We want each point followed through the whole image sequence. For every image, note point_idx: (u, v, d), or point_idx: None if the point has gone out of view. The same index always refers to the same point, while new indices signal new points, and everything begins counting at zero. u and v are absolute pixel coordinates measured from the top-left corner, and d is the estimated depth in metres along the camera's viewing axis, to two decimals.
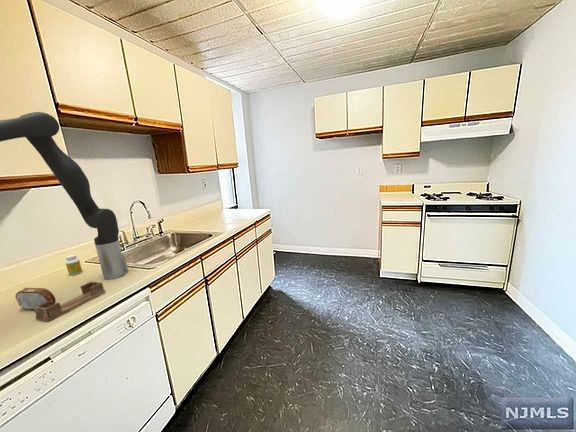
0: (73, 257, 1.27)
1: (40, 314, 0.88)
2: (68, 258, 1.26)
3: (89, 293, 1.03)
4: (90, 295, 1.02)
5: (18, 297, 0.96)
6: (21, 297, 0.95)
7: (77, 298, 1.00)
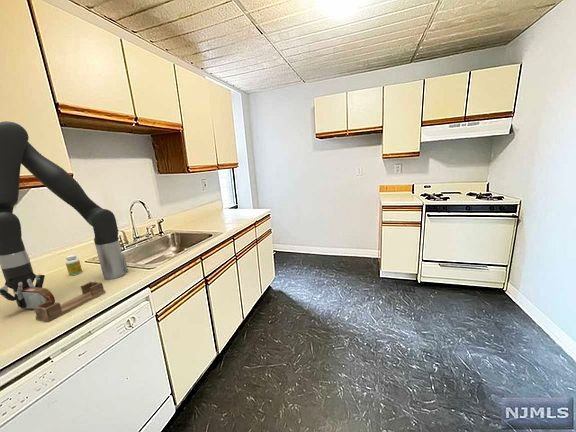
0: (73, 257, 1.27)
1: (40, 314, 0.88)
2: (68, 258, 1.26)
3: (89, 293, 1.03)
4: (90, 295, 1.02)
5: None
6: (22, 296, 0.96)
7: (77, 298, 1.00)
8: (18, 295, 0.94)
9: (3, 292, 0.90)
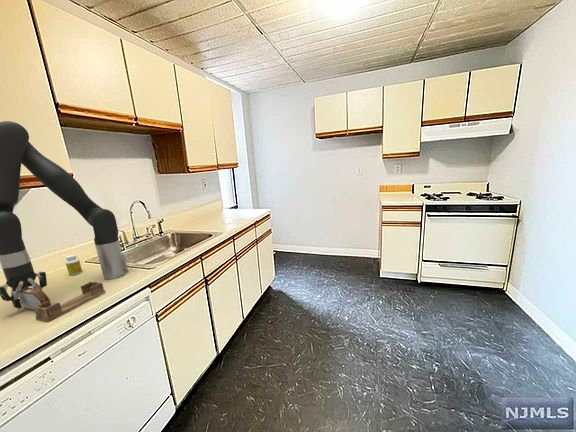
0: (73, 257, 1.27)
1: (40, 314, 0.88)
2: (68, 258, 1.26)
3: (89, 293, 1.03)
4: (90, 295, 1.02)
5: (19, 296, 0.97)
6: (22, 296, 0.96)
7: (77, 298, 1.00)
8: (15, 295, 0.93)
9: (2, 290, 0.90)
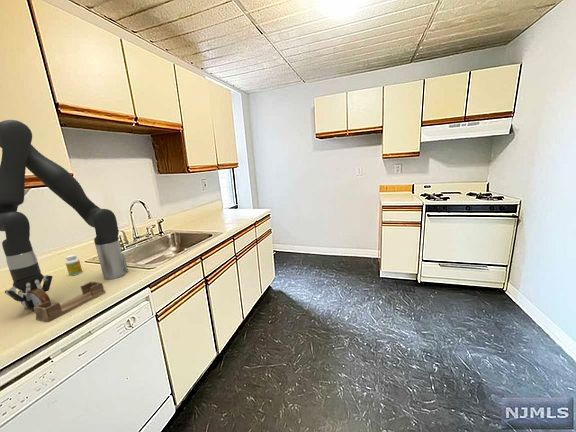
0: (73, 257, 1.27)
1: (40, 314, 0.88)
2: (68, 258, 1.26)
3: (89, 293, 1.03)
4: (90, 295, 1.02)
5: None
6: None
7: (77, 298, 1.00)
8: (26, 296, 0.93)
9: (11, 293, 0.89)
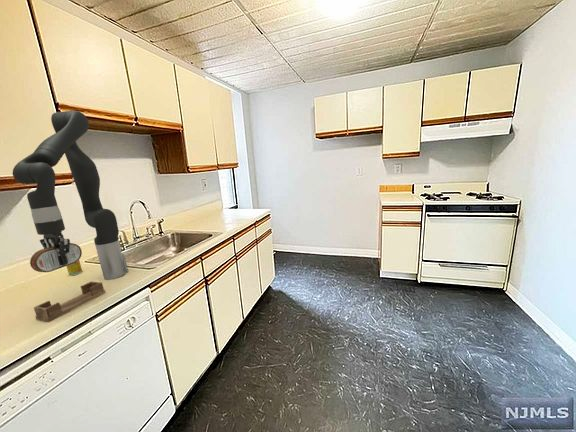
0: None
1: (40, 314, 0.88)
2: None
3: (89, 293, 1.03)
4: (90, 295, 1.02)
5: (39, 260, 0.87)
6: (45, 257, 0.88)
7: (77, 298, 1.00)
8: (64, 249, 0.93)
9: None
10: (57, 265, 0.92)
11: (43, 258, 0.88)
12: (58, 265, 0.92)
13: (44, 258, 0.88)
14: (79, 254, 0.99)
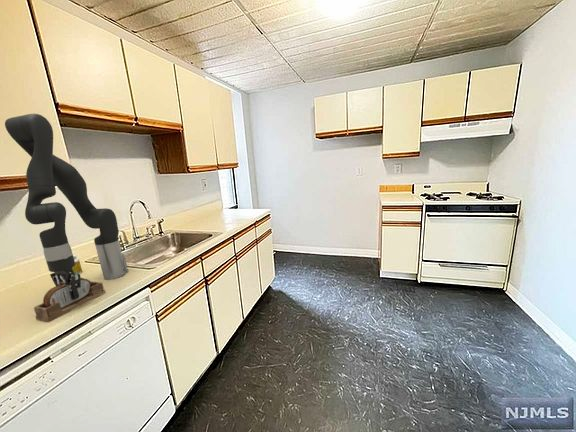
0: None
1: (40, 314, 0.88)
2: None
3: (89, 293, 1.03)
4: (90, 295, 1.02)
5: (52, 298, 0.90)
6: (57, 295, 0.92)
7: None
8: (76, 283, 0.96)
9: None
10: (68, 301, 0.95)
11: (56, 296, 0.91)
12: (69, 301, 0.95)
13: (56, 296, 0.91)
14: (89, 288, 1.02)
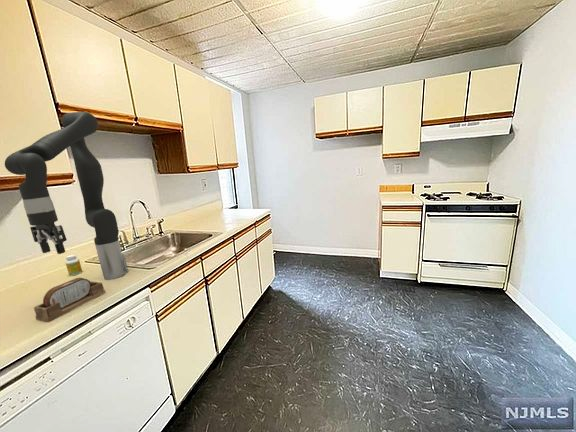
0: (73, 257, 1.27)
1: (40, 314, 0.88)
2: (68, 258, 1.26)
3: (89, 293, 1.03)
4: (90, 295, 1.02)
5: (52, 298, 0.90)
6: (57, 295, 0.92)
7: None
8: (60, 237, 0.92)
9: None
10: (68, 301, 0.95)
11: (56, 296, 0.91)
12: (69, 301, 0.95)
13: (56, 296, 0.91)
14: (89, 288, 1.02)
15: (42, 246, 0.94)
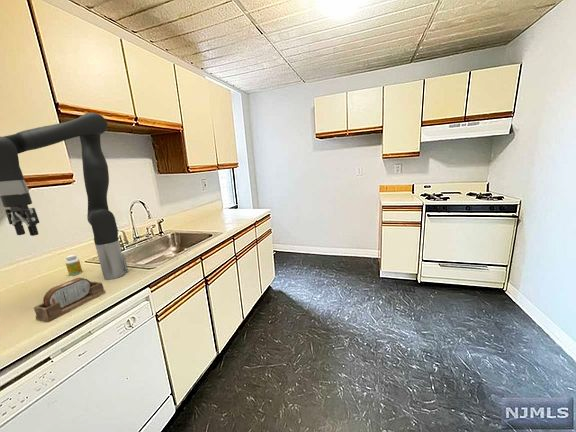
0: (73, 257, 1.27)
1: (40, 314, 0.88)
2: (68, 258, 1.26)
3: (89, 293, 1.03)
4: (90, 295, 1.02)
5: (52, 298, 0.90)
6: (57, 295, 0.92)
7: None
8: (34, 220, 0.95)
9: None
10: (68, 301, 0.95)
11: (56, 296, 0.91)
12: (69, 301, 0.95)
13: (56, 296, 0.91)
14: (89, 288, 1.02)
15: (16, 228, 0.97)
